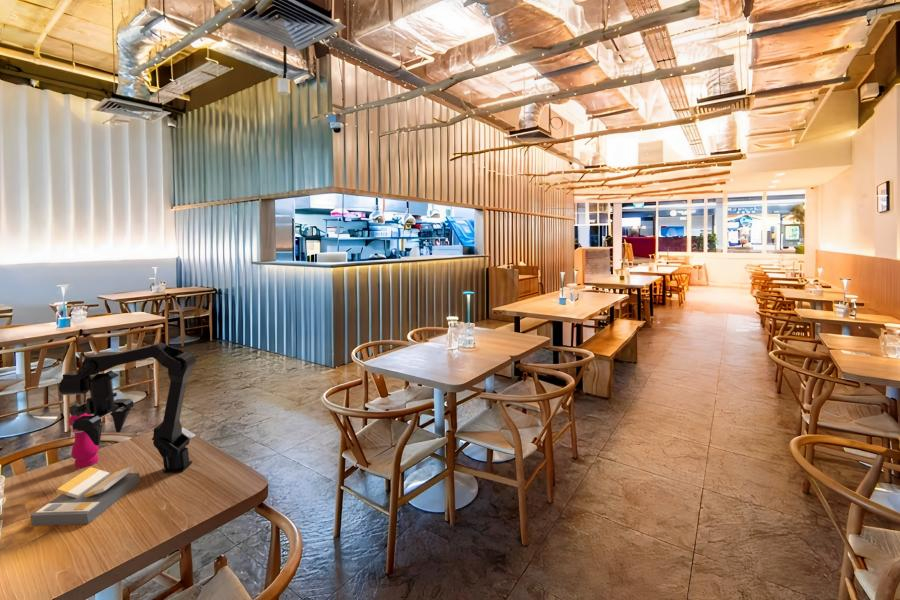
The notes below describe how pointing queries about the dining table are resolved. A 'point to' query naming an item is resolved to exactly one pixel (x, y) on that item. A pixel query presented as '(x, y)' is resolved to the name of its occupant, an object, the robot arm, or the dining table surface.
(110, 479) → the switch
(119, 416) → the robot arm
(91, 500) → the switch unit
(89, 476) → the switch
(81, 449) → the pepper mill
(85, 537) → the dining table surface
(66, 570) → the dining table surface
